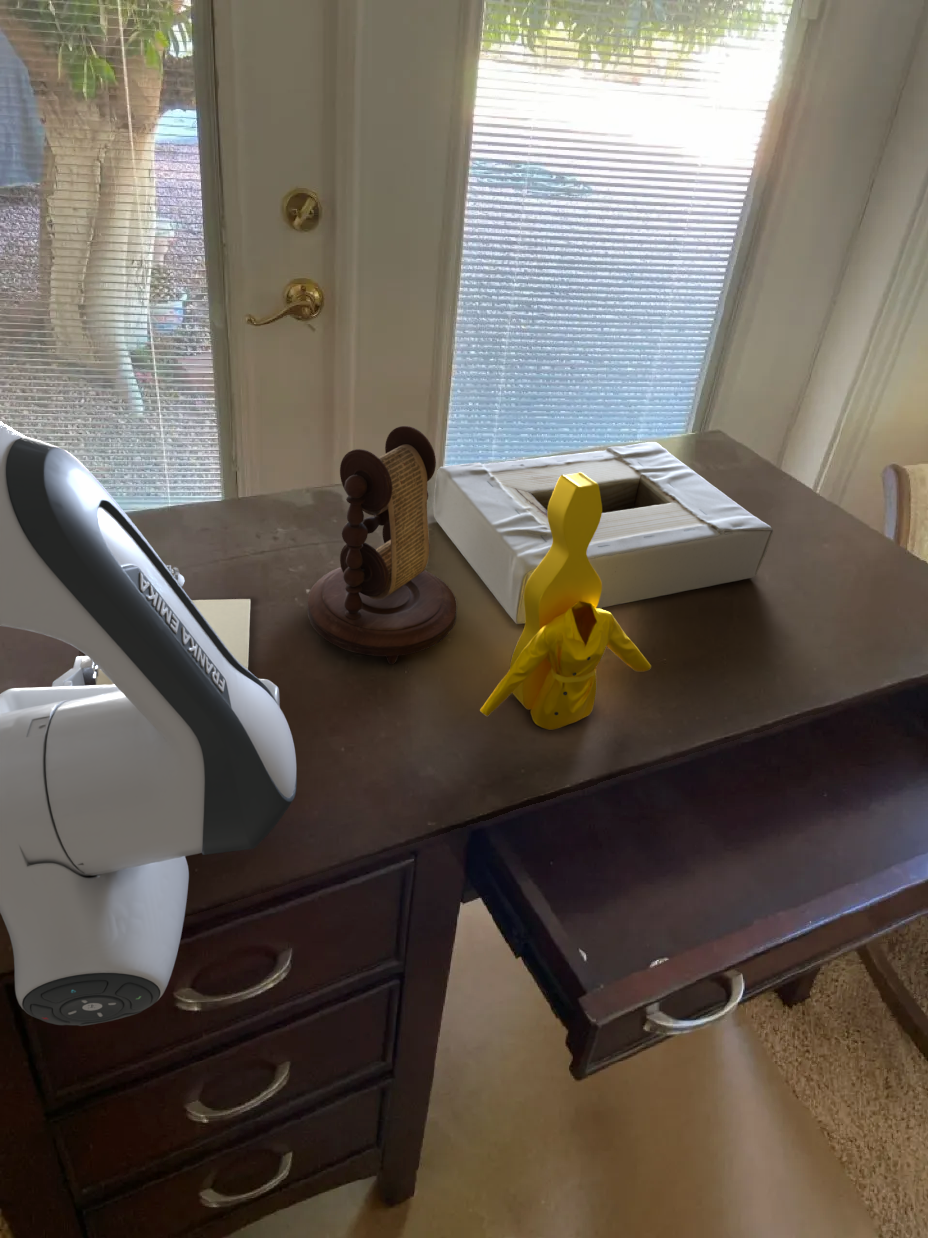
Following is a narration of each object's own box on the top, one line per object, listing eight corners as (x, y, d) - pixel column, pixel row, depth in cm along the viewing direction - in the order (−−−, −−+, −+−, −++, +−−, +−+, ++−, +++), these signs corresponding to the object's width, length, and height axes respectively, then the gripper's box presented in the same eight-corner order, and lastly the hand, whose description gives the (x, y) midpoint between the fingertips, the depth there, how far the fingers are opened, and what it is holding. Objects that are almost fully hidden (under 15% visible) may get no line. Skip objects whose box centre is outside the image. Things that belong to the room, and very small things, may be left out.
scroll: (397, 689, 81) (409, 496, 70) (276, 627, 87) (268, 439, 75) (482, 616, 92) (505, 437, 80) (368, 565, 98) (374, 391, 86)
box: (517, 631, 90) (760, 578, 103) (526, 567, 86) (779, 520, 98) (428, 523, 107) (646, 489, 120) (431, 465, 103) (658, 435, 115)
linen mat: (80, 699, 76) (79, 695, 76) (104, 605, 87) (104, 601, 87) (247, 692, 79) (247, 689, 79) (250, 601, 90) (250, 598, 90)
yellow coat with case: (488, 757, 75) (522, 534, 62) (447, 700, 81) (470, 484, 68) (654, 706, 83) (716, 498, 70) (607, 657, 88) (655, 455, 75)
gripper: (284, 746, 60) (282, 625, 71) (-44, 764, 56) (7, 632, 67) (286, 809, 64) (284, 685, 75) (-22, 830, 60) (23, 695, 71)
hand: (150, 660), depth 71 cm, fingers open, 8 cm apart
